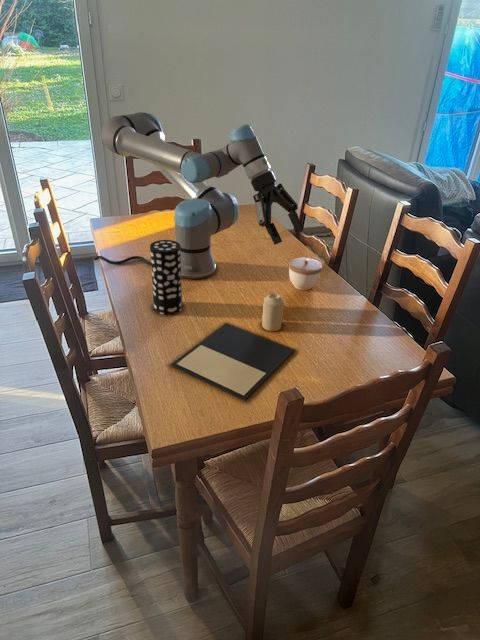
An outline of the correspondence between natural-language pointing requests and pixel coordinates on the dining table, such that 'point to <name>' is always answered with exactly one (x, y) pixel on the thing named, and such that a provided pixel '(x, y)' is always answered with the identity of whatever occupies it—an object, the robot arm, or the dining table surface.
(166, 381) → the dining table surface
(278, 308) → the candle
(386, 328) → the dining table surface
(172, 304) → the spotted tube
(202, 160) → the robot arm
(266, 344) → the table mat
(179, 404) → the dining table surface
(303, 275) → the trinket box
